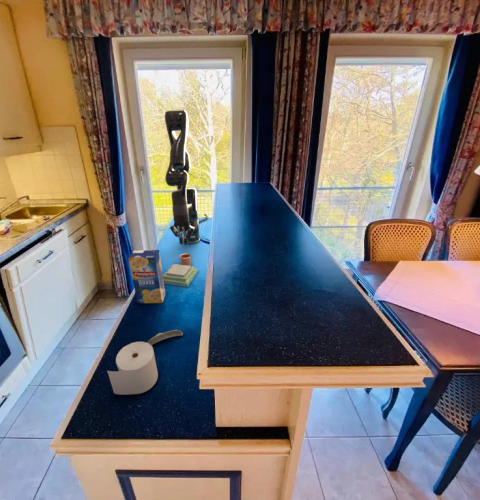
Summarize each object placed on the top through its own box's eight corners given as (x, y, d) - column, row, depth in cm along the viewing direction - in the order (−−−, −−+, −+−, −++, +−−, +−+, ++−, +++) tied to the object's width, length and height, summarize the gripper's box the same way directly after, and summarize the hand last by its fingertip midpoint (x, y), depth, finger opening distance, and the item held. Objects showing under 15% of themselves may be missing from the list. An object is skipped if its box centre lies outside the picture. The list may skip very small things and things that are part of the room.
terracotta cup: (183, 261, 153) (182, 253, 150) (192, 262, 151) (191, 254, 149) (179, 266, 148) (178, 257, 146) (188, 267, 146) (188, 259, 144)
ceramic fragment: (145, 349, 96) (143, 341, 94) (142, 339, 100) (141, 331, 99) (184, 337, 101) (183, 329, 99) (180, 328, 105) (179, 320, 103)
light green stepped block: (172, 268, 146) (172, 262, 144) (197, 271, 142) (197, 265, 140) (160, 283, 134) (159, 276, 132) (187, 286, 130) (186, 280, 128)
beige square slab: (174, 266, 142) (174, 263, 141) (191, 268, 139) (190, 265, 138) (166, 275, 134) (166, 272, 133) (184, 277, 131) (183, 275, 131)
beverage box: (141, 293, 126) (133, 250, 116) (165, 293, 126) (159, 249, 116) (137, 303, 120) (127, 258, 110) (162, 303, 120) (155, 257, 110)
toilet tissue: (163, 368, 89) (159, 344, 84) (145, 402, 78) (139, 377, 74) (134, 362, 91) (128, 339, 87) (112, 394, 81) (104, 370, 77)
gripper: (196, 210, 138) (198, 242, 146) (171, 209, 142) (174, 240, 149) (190, 215, 132) (193, 248, 139) (164, 213, 135) (168, 246, 143)
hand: (184, 244), depth 144 cm, fingers closed
